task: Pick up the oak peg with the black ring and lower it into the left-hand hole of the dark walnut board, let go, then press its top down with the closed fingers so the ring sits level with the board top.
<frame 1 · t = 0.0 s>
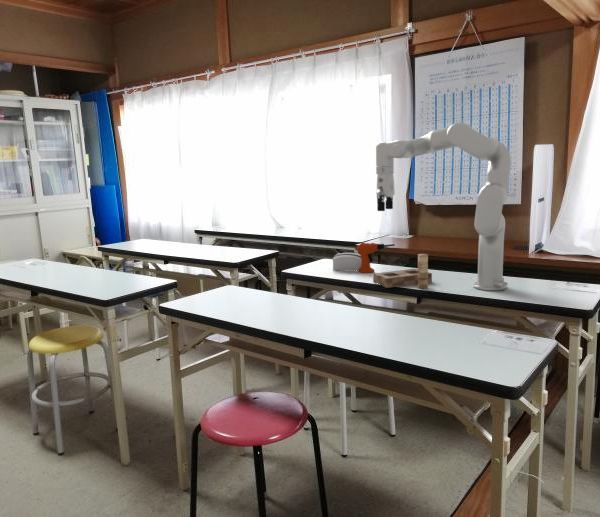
hand: (385, 209, 230), 31 cm above the table, tool pointing down, fingers open, 9 cm apart
grey toaster: (349, 270, 258), on the table
toy drill: (375, 272, 251), on the table
board: (402, 282, 228), on the table
peg: (422, 287, 216), on the table
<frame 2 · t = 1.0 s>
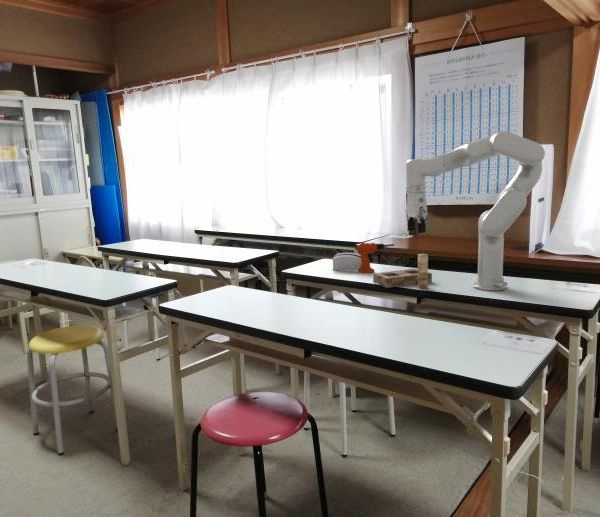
hand: (416, 231, 216), 23 cm above the table, tool pointing down, fingers open, 9 cm apart
nothing on the table moved.
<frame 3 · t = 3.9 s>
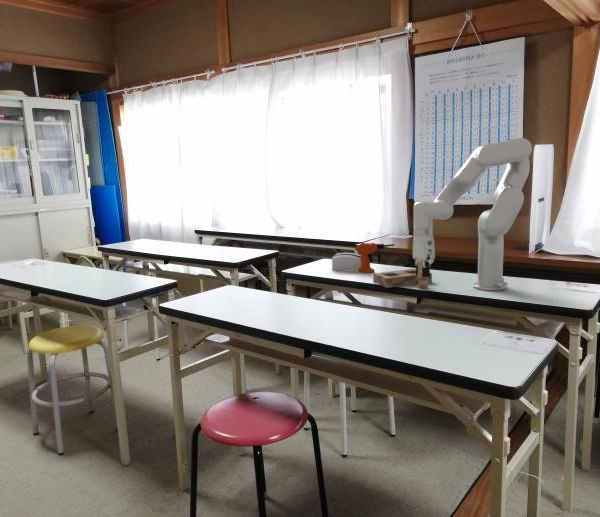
hand: (422, 275, 215), 5 cm above the table, tool pointing down, fingers closed on peg, 4 cm apart
peg: (422, 287, 216), on the table, touching gripper
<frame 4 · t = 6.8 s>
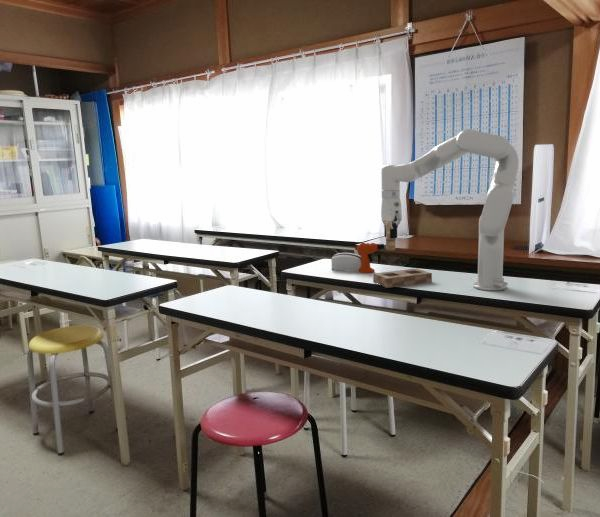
hand: (390, 237, 223), 20 cm above the table, tool pointing down, fingers closed on peg, 4 cm apart
peg: (390, 249, 223), point 15 cm above the table, touching gripper
everything else where it was.
when the fingers open (7 cm above the table, at t = 9.9 s): peg drops 1 cm, resting in board.
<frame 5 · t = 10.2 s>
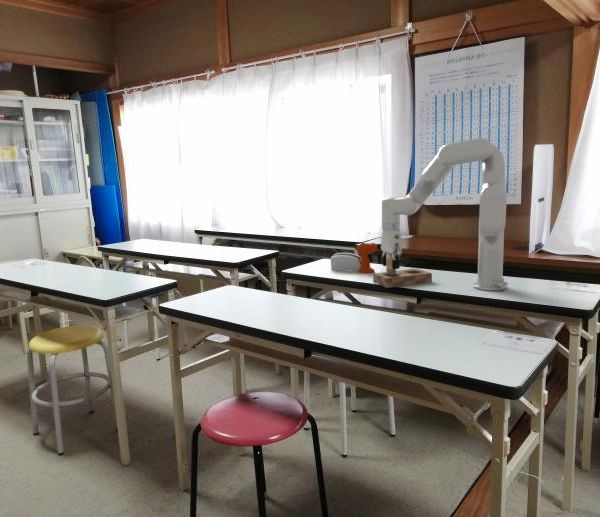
hand: (391, 267, 225), 7 cm above the table, tool pointing down, fingers open, 7 cm apart
peg: (391, 283, 226), resting in board
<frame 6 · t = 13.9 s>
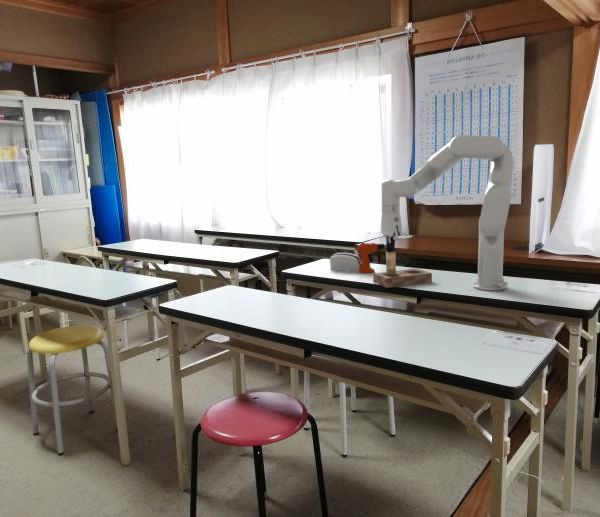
hand: (390, 251, 224), 14 cm above the table, tool pointing down, fingers closed
peg: (391, 283, 226), resting in board, touching gripper
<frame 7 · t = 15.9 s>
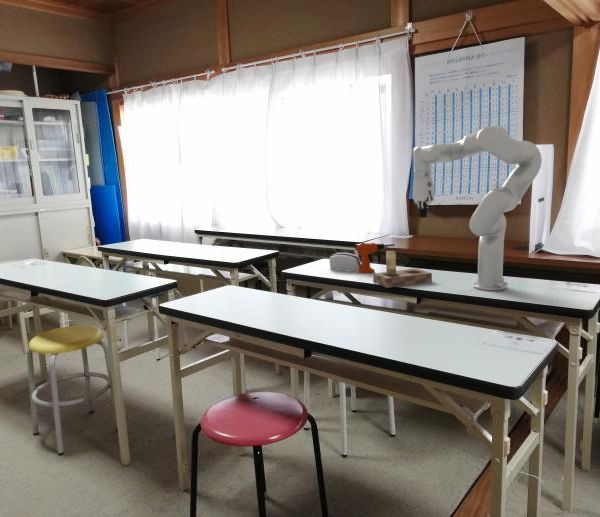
hand: (422, 217, 230), 27 cm above the table, tool pointing down, fingers closed
peg: (391, 283, 226), resting in board
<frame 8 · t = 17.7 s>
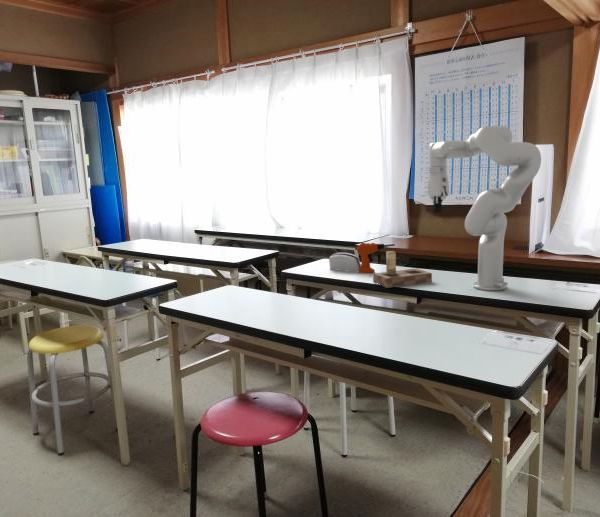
hand: (437, 212, 234), 29 cm above the table, tool pointing down, fingers closed
at the end: peg 0.0 cm from the target spot on the board, point 0.0 cm above the board's base; peg tilted 0°; the gripper is holding nothing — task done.
